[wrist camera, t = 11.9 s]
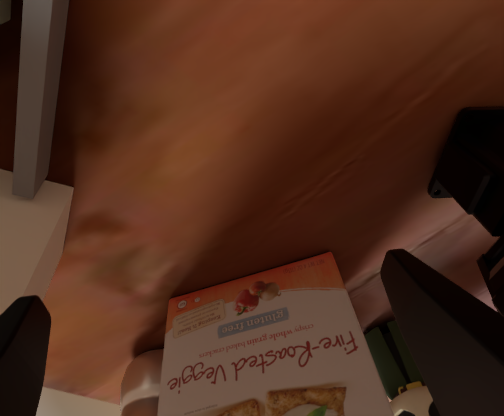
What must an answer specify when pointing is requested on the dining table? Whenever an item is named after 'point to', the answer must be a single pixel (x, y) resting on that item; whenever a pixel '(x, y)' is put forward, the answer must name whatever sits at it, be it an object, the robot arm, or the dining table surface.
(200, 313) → the cracker box
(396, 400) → the character mug
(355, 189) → the dining table surface
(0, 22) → the rectangular block
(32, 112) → the cabinet
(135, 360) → the plastic bottle
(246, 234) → the dining table surface
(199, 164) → the dining table surface
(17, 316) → the robot arm
